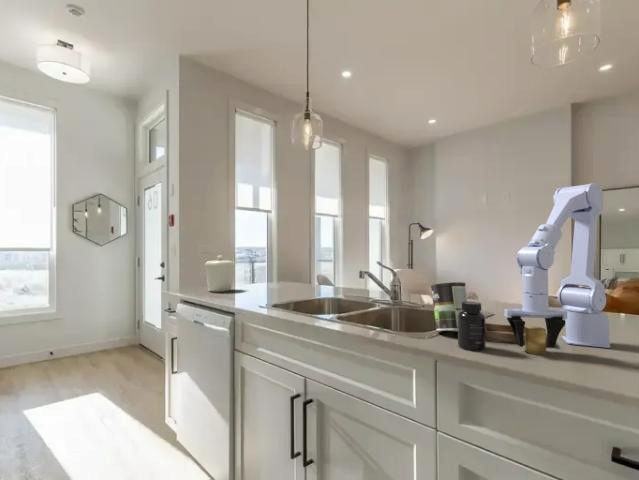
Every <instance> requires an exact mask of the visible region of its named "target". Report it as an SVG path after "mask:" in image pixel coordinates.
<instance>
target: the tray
mask: <svg viewBox="0 0 639 480" xmlns="http://www.w3.org/2000/svg"><path fill="white" fill-rule="evenodd" d="M525 327H527V326H526V325H525V326H524V333H523V340H524V344H523V346H525ZM486 342H495V343H506V344H515V345H517V343H516V339H515V335H514V332H513V330H512V328H511V325H510V324H499V323H488V322H486ZM546 348H550V346H548V344H547V333H546Z"/></svg>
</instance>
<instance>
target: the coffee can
mask: <svg viewBox="0 0 639 480" xmlns="http://www.w3.org/2000/svg"><path fill="white" fill-rule="evenodd" d="M430 288H431V295H432V305H433V311H434V320H435V328H436V329H435V331H437V332H446V331H447V332H450V331H451V332H452V331H454V332H455V331H458V314H459V313H460V312H462V311H463V310H462V309H461V307H462V302H465V301H468V297H467V289H466V282H460V281H458V282H453V281H452V282H443V283H436V284H432V285H430Z"/></svg>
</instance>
